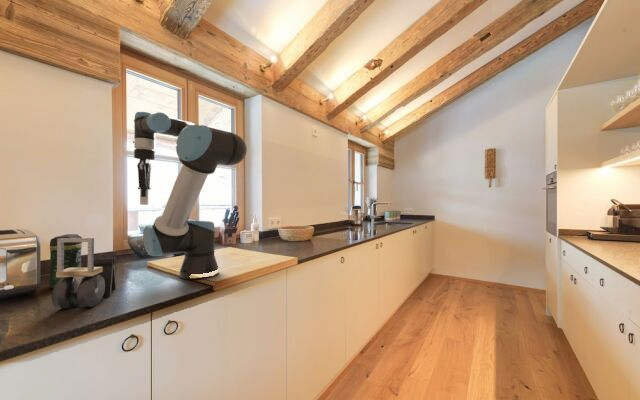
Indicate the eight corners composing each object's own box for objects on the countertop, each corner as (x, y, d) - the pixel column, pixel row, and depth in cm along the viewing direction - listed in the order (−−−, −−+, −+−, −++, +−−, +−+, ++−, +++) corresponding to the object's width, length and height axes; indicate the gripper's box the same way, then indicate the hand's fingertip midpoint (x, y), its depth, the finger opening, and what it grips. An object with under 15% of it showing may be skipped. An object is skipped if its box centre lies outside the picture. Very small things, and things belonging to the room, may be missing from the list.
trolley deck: (102, 271, 84) (102, 266, 84) (92, 276, 79) (92, 270, 79) (68, 272, 82) (68, 267, 82) (56, 277, 77) (56, 272, 77)
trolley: (105, 300, 86) (105, 235, 86) (86, 311, 77) (87, 239, 77) (73, 301, 84) (74, 235, 84) (51, 313, 76) (51, 239, 76)
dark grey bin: (109, 297, 89) (110, 260, 89) (86, 299, 86) (86, 261, 86) (116, 288, 97) (117, 254, 97) (95, 290, 94) (95, 256, 94)
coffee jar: (73, 288, 97) (74, 235, 97) (44, 290, 94) (45, 236, 94) (85, 280, 106) (85, 232, 106) (58, 282, 103) (59, 233, 103)
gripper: (138, 151, 122) (138, 204, 122) (129, 146, 110) (129, 204, 110) (157, 152, 125) (157, 204, 125) (151, 147, 113) (150, 205, 113)
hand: (144, 204), depth 117 cm, fingers closed
